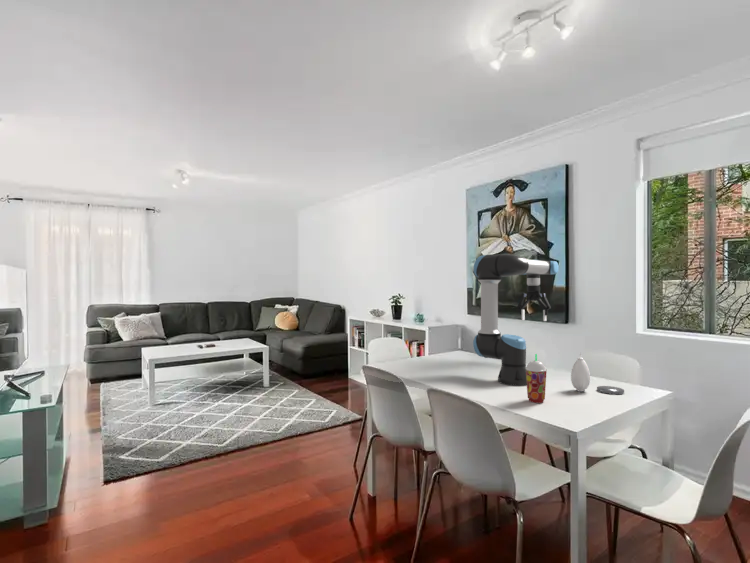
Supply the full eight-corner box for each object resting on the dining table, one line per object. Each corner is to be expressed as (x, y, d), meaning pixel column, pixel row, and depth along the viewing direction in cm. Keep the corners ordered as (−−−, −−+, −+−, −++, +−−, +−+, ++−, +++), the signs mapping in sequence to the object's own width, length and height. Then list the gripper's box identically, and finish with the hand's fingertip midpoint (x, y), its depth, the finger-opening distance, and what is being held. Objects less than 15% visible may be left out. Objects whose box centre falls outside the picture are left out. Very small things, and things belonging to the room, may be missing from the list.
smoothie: (537, 397, 186) (537, 352, 186) (551, 403, 178) (551, 355, 178) (521, 399, 183) (521, 353, 183) (534, 404, 175) (534, 356, 175)
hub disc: (620, 395, 189) (620, 393, 189) (593, 391, 197) (593, 388, 197) (627, 391, 197) (627, 388, 197) (601, 387, 204) (601, 384, 204)
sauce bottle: (593, 392, 195) (593, 352, 195) (581, 394, 192) (581, 354, 192) (579, 388, 203) (579, 350, 203) (567, 390, 199) (567, 351, 199)
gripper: (556, 285, 252) (557, 321, 251) (517, 285, 270) (517, 319, 269) (551, 284, 246) (551, 321, 245) (511, 285, 264) (511, 319, 263)
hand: (533, 320), depth 257 cm, fingers open, 13 cm apart
